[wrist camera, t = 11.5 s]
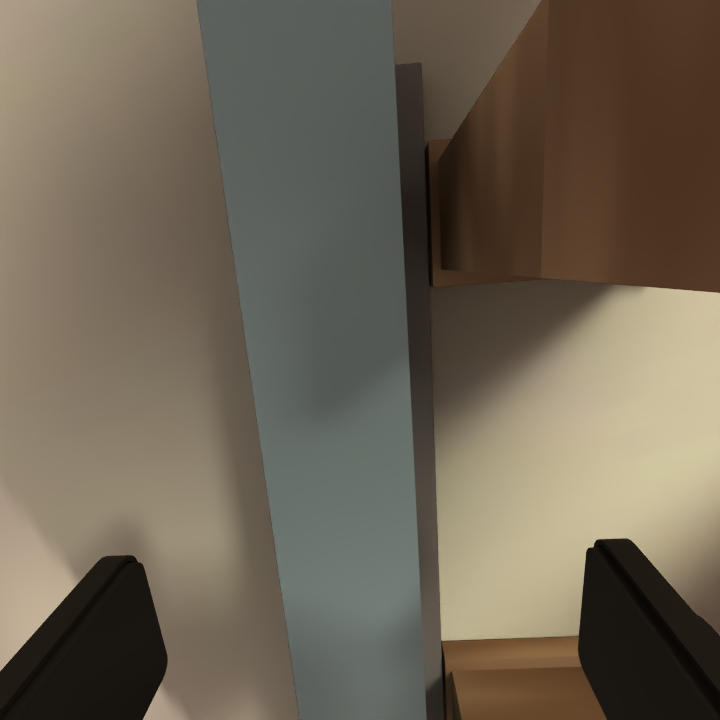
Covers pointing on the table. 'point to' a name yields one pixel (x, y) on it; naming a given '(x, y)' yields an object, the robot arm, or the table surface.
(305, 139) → the rail
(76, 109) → the table surface
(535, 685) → the post
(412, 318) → the mat
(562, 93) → the post
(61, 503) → the table surface
